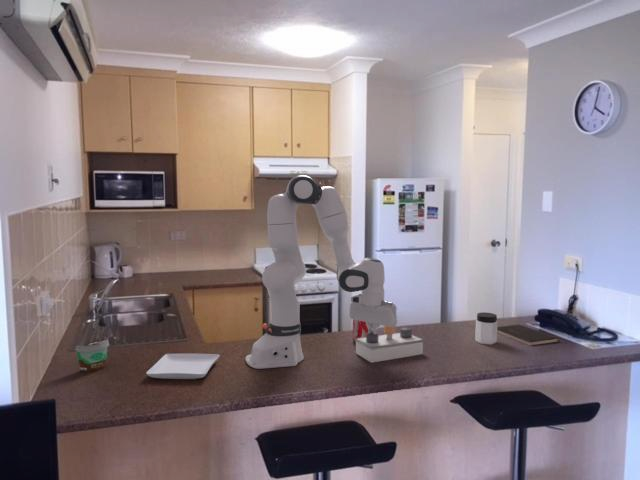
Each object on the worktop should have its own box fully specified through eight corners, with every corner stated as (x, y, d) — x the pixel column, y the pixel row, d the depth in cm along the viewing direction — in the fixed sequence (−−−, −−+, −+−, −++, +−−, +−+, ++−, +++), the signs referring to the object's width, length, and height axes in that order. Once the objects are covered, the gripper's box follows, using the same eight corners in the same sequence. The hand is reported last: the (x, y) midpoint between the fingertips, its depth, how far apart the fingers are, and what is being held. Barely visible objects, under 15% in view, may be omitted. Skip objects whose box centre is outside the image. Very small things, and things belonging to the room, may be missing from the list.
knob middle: (387, 343, 194) (387, 327, 193) (381, 340, 198) (381, 324, 198) (397, 342, 196) (398, 325, 195) (391, 338, 200) (391, 322, 200)
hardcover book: (529, 346, 209) (529, 341, 208) (492, 332, 230) (492, 327, 230) (558, 342, 214) (558, 337, 214) (519, 328, 236) (520, 324, 235)
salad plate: (165, 361, 190) (165, 352, 189) (220, 361, 189) (220, 353, 189) (144, 382, 169) (144, 373, 168) (206, 383, 168) (205, 373, 168)
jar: (500, 344, 210) (501, 316, 209) (483, 345, 209) (484, 317, 207) (488, 338, 219) (489, 311, 218) (472, 339, 217) (473, 312, 216)
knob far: (404, 347, 198) (404, 331, 197) (397, 344, 202) (397, 328, 201) (414, 345, 200) (414, 329, 199) (407, 342, 204) (407, 326, 203)
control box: (371, 362, 187) (371, 347, 187) (355, 353, 198) (355, 338, 198) (422, 354, 197) (422, 339, 197) (405, 345, 208) (405, 331, 208)
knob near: (369, 352, 191) (370, 336, 190) (363, 349, 195) (363, 332, 195) (380, 351, 193) (380, 334, 192) (374, 347, 197) (374, 331, 197)
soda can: (367, 345, 209) (368, 317, 207) (351, 344, 210) (351, 316, 209) (369, 340, 216) (369, 313, 214) (353, 339, 217) (353, 312, 216)
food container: (86, 376, 174) (85, 348, 173) (76, 372, 177) (74, 345, 176) (117, 365, 184) (116, 339, 183) (106, 362, 187) (105, 336, 186)
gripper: (400, 301, 188) (399, 336, 189) (356, 294, 201) (356, 327, 202) (391, 304, 183) (391, 340, 185) (347, 297, 196) (347, 330, 197)
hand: (372, 333), depth 194 cm, fingers closed, pressing on knob near
